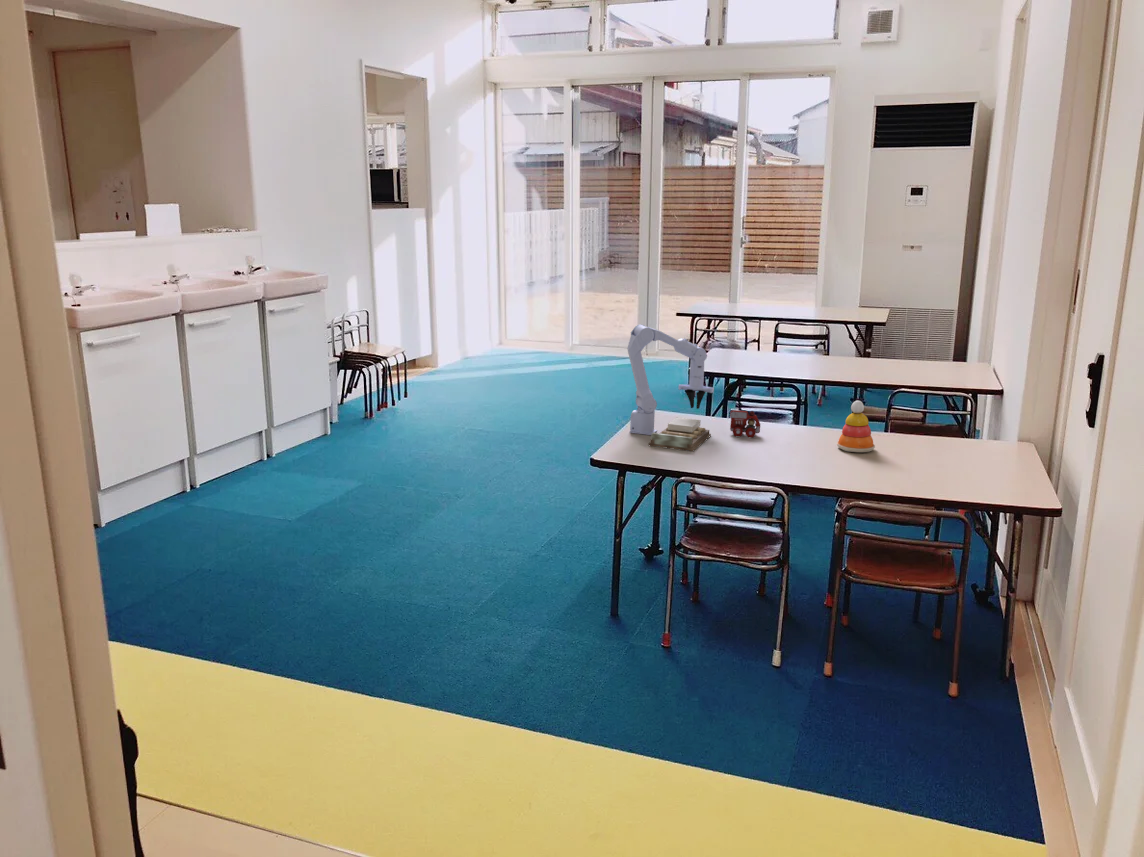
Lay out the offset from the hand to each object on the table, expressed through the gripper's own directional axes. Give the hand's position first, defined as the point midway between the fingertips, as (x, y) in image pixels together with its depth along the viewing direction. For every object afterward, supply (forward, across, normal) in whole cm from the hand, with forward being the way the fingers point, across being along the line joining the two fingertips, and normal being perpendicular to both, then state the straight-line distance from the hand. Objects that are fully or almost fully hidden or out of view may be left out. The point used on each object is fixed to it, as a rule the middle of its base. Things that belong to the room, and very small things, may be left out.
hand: (695, 408), depth 371 cm
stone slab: (+6, +1, +12) cm, 13 cm away
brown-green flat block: (+9, 0, +19) cm, 21 cm away
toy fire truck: (+10, -21, -1) cm, 23 cm away
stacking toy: (+10, -65, 0) cm, 66 cm away
